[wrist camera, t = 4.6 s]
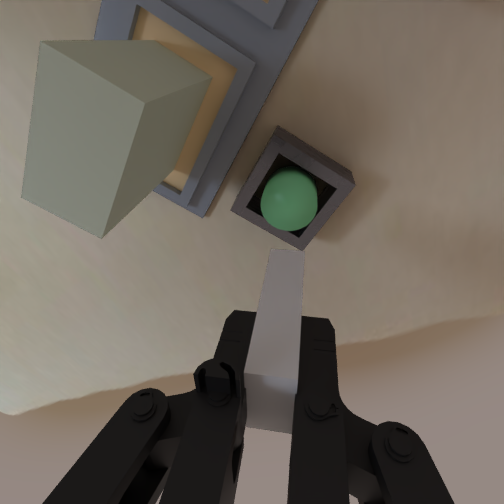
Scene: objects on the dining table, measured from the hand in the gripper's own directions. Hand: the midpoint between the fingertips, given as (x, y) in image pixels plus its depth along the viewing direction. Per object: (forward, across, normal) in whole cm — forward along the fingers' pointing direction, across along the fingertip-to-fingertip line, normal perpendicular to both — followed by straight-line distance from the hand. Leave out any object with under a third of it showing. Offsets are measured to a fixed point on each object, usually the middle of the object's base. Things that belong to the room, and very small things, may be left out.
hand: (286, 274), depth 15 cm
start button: (+9, 0, 0) cm, 9 cm away
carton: (+10, -9, +5) cm, 15 cm away
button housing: (+11, 0, 0) cm, 11 cm away
